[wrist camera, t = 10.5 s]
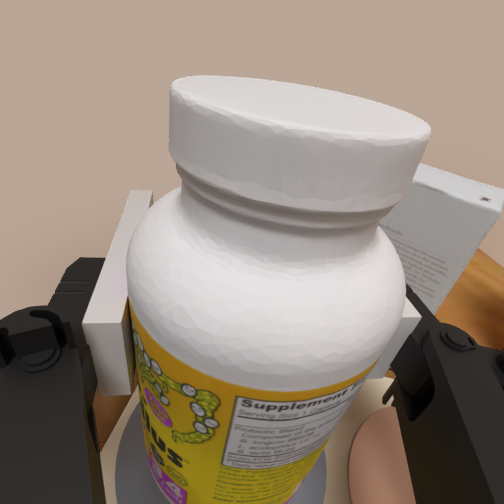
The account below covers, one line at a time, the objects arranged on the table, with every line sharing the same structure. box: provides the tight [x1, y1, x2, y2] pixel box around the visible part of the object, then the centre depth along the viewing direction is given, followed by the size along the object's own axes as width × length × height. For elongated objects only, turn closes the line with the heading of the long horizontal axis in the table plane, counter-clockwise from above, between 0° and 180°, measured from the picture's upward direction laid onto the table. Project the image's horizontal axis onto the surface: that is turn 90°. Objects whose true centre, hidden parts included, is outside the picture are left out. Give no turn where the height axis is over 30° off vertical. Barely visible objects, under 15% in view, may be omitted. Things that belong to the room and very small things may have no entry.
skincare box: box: [378, 163, 504, 369], centre depth 20 cm, size 6×4×12 cm
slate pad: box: [115, 402, 327, 504], centre depth 14 cm, size 9×9×1 cm
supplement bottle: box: [126, 75, 431, 504], centre depth 9 cm, size 7×7×13 cm
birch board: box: [100, 377, 394, 504], centre depth 14 cm, size 20×12×2 cm, turn 79°
